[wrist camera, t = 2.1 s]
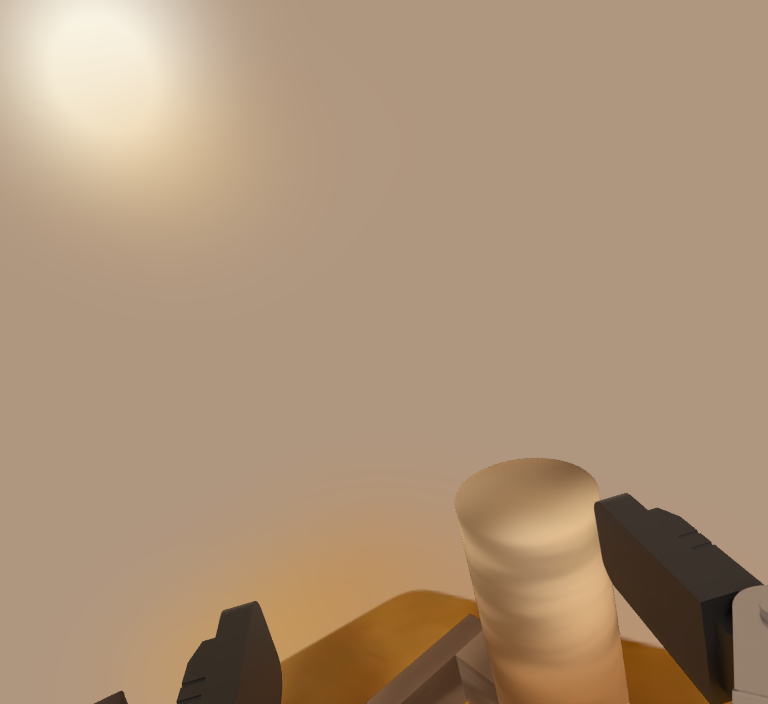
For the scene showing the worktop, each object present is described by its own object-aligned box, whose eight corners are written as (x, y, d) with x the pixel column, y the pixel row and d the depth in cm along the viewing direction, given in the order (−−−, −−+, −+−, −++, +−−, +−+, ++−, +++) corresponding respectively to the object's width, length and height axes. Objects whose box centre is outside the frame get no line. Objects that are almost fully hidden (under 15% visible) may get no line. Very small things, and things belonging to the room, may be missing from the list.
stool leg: (492, 788, 29) (425, 505, 24) (563, 708, 32) (514, 447, 28) (598, 889, 24) (537, 558, 19) (668, 783, 27) (630, 479, 23)
